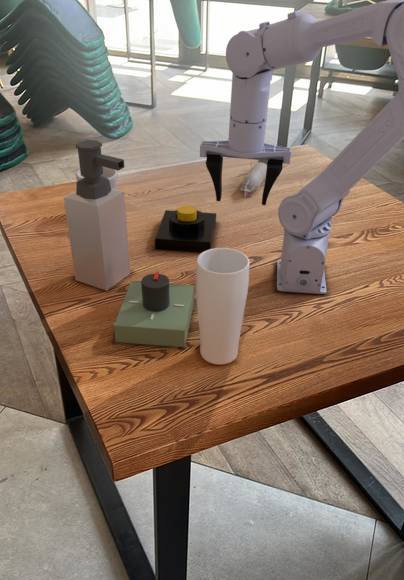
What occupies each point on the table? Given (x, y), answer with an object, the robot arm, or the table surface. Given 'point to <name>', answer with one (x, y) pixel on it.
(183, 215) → the button
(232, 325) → the drinking glass
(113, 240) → the soap dispenser
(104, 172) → the cup
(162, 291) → the dial
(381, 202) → the table surface
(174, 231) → the button block
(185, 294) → the dial panel
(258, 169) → the clear plastic bottle
